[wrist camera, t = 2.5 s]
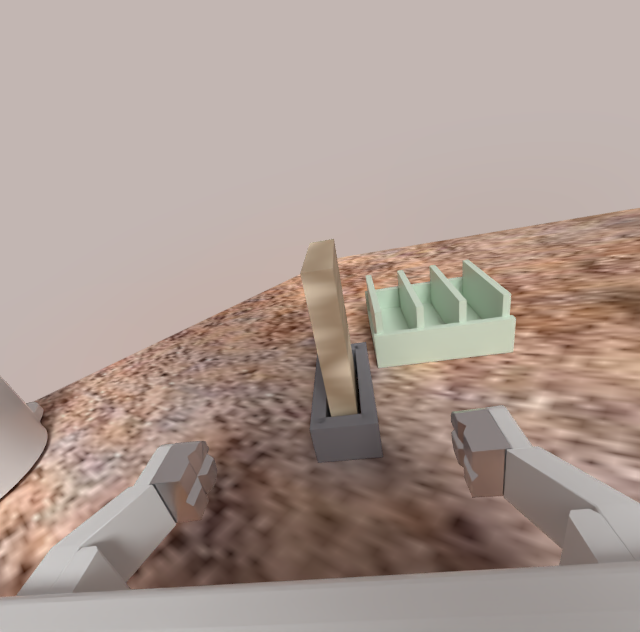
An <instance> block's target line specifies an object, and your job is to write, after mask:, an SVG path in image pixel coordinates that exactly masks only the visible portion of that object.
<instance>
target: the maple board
mask: <svg viewBox="0 0 640 632" xmlns="http://www.w3.org/2000/svg"><path fill="white" fill-rule="evenodd" d="M300 274H301V279H302V283H303V288H304V292H305V297H306V302H307V306H308V311H309V316H310V320H311V325H312V330H313V334H314V339H315V344H316V348H317V353H318V358H319V362H320V367H321V371H322V376H323V381H324V385H325V390H326V395H327V399H328V404H329V409H330V413H331V417H335V416H344V415H354V414H360V412H359V400H358V389H357V379H356V373H355V367H354V361H353V354H352V348H351V342H350V336H349V330H348V324H347V317H346V311H345V305H344V299H343V293H342V286H341V280H340V274H339V268H338V262H337V256H336V250H335V244H334V239H331V240H325V241H319V242H313V243H310V244H309V248H308V251H307V254H306V257H305V260H304V263H303V267H302V270H301V273H300Z"/></svg>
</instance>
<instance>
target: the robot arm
mask: <svg viewBox="0 0 640 632" xmlns="http://www.w3.org/2000/svg"><path fill="white" fill-rule="evenodd" d="M43 411H44V410H43V408H42V407H41V406H40V405H39V404H38V403H37V402H31V403H25V402H24V401H23V400H22V399H21V398H20V397H19V396H18V395H17V393H16V392H15V391H14V390H13V389H12V388H11V387H10V386H9V385H8V384H7V383H6V381H5V380H4V379H3V378H2V377H1V376H0V498H2V497H3V496H4V495H5V494H6V493H7V492H8V491H9V490H10V489H11V488H13V487H14V486H15V485H16V484H17V483H18V482H19V481H20V480H21V479H22V477H23V476H24V475H25V474H26V473H27V472H28V471H29V470H30V468H31V467H32V466H33V465H34V463H35V462H36V461H37V459H38V458H39V456H40V455H41V453H42V451H43V450H44V447H45V445H46V442H47V437H48V435H47V430H46V429H45V428H44V427H43V425H42V424H41V422H40V420H41V418H42V415H43ZM451 422H452V425H453V427H454V430H453V431H452V443H453V448H454V452H455V455H456V458H457V461H458V463H459V465H461V466H462V467H463V468H464V478H465V481H466V483H467V486H468V488H469V490H470V493H471V495H472V498H475V497H493V496H504V498H505V499H506V500H507V501H508V502H510V503H511V504H512V505H513V506H514V507H515V508H516V509H518V510H519V511H520V512H521V513H522V514H523V515H524V516H525V517H527V518H528V519H529V520H530V521H531V522H532V523H533V524H535V525H536V526H537V527H538V528H539V529H540V530H541V531H542V532H544V533H545V534H546V535H547V536H548V537H549V538H550V539H552V540H553V541H554V542H555V543H556V544H557V545H558V546H559V547H561V548H562V554H561V559H560V564H559V566H541V567H523V568H505V569H488V570H470V571H452V572H435V573H417V574H400V575H382V576H365V577H347V578H330V579H312V580H294V581H277V582H259V583H241V584H223V585H206V586H188V587H170V588H152V589H134V590H131V589H130V587H129V586H128V585H127V584H126V582H127V581H128V580H129V579H130V577H131V576H132V575H133V574H134V573H135V572H136V571H137V569H138V568H139V567H140V566H141V565H142V564H143V562H144V561H145V560H146V559H147V558H148V557H149V555H150V554H151V553H152V552H153V551H154V550H155V549H156V547H157V546H158V545H159V544H160V543H161V542H162V540H163V539H164V538H165V537H166V536H167V535H168V533H169V532H170V531H171V530H172V529H173V528H174V527H175V525H176V523H180V522H189V521H198V520H201V519H202V516H203V514H204V511H205V508H206V506H207V503H208V497H207V493H208V492H209V491H210V490H211V489H212V488H213V487H214V484H215V482H216V476H217V467H216V463H215V460H214V458H213V457H211V456H210V455H208V454H207V453H208V450H209V447H208V446H207V444H206V442H205V441H195V442H184V443H175V444H164V445H161V446H159V447H158V448H157V450H156V451H155V453H154V454H153V456H152V457H151V459H150V461H149V462H148V464H147V465H146V467H145V469H144V470H143V472H142V473H141V475H140V476H139V478H138V480H137V481H136V483H135V484H134V486H133V487H128V488H127V489H126V490H124V491H123V492H122V493H121V494H119V495H118V496H117V497H116V498H114V499H113V500H112V501H110V502H109V503H108V504H107V505H105V506H104V507H103V508H102V509H100V510H99V511H98V512H97V513H95V514H94V515H93V516H91V517H90V518H89V519H88V520H86V521H85V522H84V523H83V524H81V525H80V526H79V527H77V528H76V529H75V530H74V531H72V532H71V533H70V534H69V535H67V536H66V537H65V538H63V539H62V540H61V541H60V542H58V543H57V544H56V545H55V546H53V547H52V548H51V549H50V551H49V552H48V553H47V555H46V556H45V557H44V559H43V560H42V561H41V563H40V564H39V566H38V567H37V568H36V570H35V571H34V572H33V574H32V575H31V576H30V578H29V579H28V580H27V582H26V583H25V585H24V586H23V587H22V589H21V590H20V591H19V593H18V594H17V595H16V596H9V597H0V632H640V503H638V502H636V501H634V500H633V499H631V498H629V497H627V496H626V495H624V494H622V493H620V492H619V491H617V490H615V489H613V488H611V487H610V486H608V485H606V484H604V483H603V482H601V481H599V480H597V479H596V478H594V477H592V476H590V475H588V474H587V473H585V472H583V471H581V470H580V469H578V468H576V467H574V466H573V465H571V464H569V463H567V462H565V461H564V460H562V459H560V458H558V457H557V456H555V455H553V454H551V453H550V452H548V451H546V450H544V449H542V448H541V447H539V446H537V447H533V446H532V444H531V443H530V442H529V440H528V439H527V437H526V436H525V434H524V433H523V431H522V430H521V429H520V427H519V426H518V424H517V423H516V421H515V420H514V418H513V417H512V416H511V414H510V413H509V411H508V410H507V408H506V407H504V406H503V405H502V406H494V407H486V408H479V409H471V410H463V411H455V412H452V413H451Z"/></svg>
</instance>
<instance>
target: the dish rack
mask: <svg viewBox="0 0 640 632" xmlns="http://www.w3.org/2000/svg"><path fill="white" fill-rule="evenodd" d="M397 274H398V286H397V287H391V288H384V289H377V290H375V288H374V284H373V281H372V277H371V275H368V276H366V283H367V290H368V291H365V296H366V303H367V311H368V318H369V323H370V328H371V334H372V339H373V344H374V349H375V354H376V359H377V365H378V368H385V367H393V366H401V365H409V364H418V363H426V362H434V361H442V360H451V359H459V358H467V357H475V356H484V355H492V354H500V353H509V352H513V348H514V336H515V324H516V318H515V317H514V316H513V315H510V303H511V293H509V292H508V291H507V290H506V289H504V288H503V287H502V286H501V285H499V284H498V283H497V282H496V281H494V280H493V279H492V278H491V277H489V276H488V275H487V274H485V273H484V272H483V271H482V270H480V269H479V268H478V267H477V266H475V265H474V264H473V263H472V262H470V261H469V260H464V261H463V277H457V278H451V279H447V278H446V277H445V276H444V274H443V273H442V272H441V271H440V270H439V269H438V268H437V267H436V266H435V265H432V266H430V282H424V283H417V284H410V282H409V280H408V279H407V277H406V275H405V273H404V272H403V270H400V271H397Z"/></svg>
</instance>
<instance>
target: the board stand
mask: <svg viewBox="0 0 640 632" xmlns="http://www.w3.org/2000/svg"><path fill="white" fill-rule="evenodd" d="M351 348H352V354H353V361H354V367H355V373H356V377H358V383H359V393H360V404H361V414H354V415H344V416H335V417H331V413H330V409H329V404H328V399H327V395H326V390H325V385H324V381H323V376H322V371H321V367H320V362H319V358H318V353H317V362H316V372H315V382H314V392H313V403H312V413H311V423H310V433H311V437H312V441H313V445H314V449H315V452H316V456H317V460H318V463H321V462H332V461H343V460H355V459H366V458H377V457H383V453H382V446H381V438H380V431H379V424H378V417H377V411H376V404H375V398H374V391H373V385H372V379H371V372H370V366H369V359H368V353H367V346H366V342H362V343H355V344H351Z"/></svg>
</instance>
